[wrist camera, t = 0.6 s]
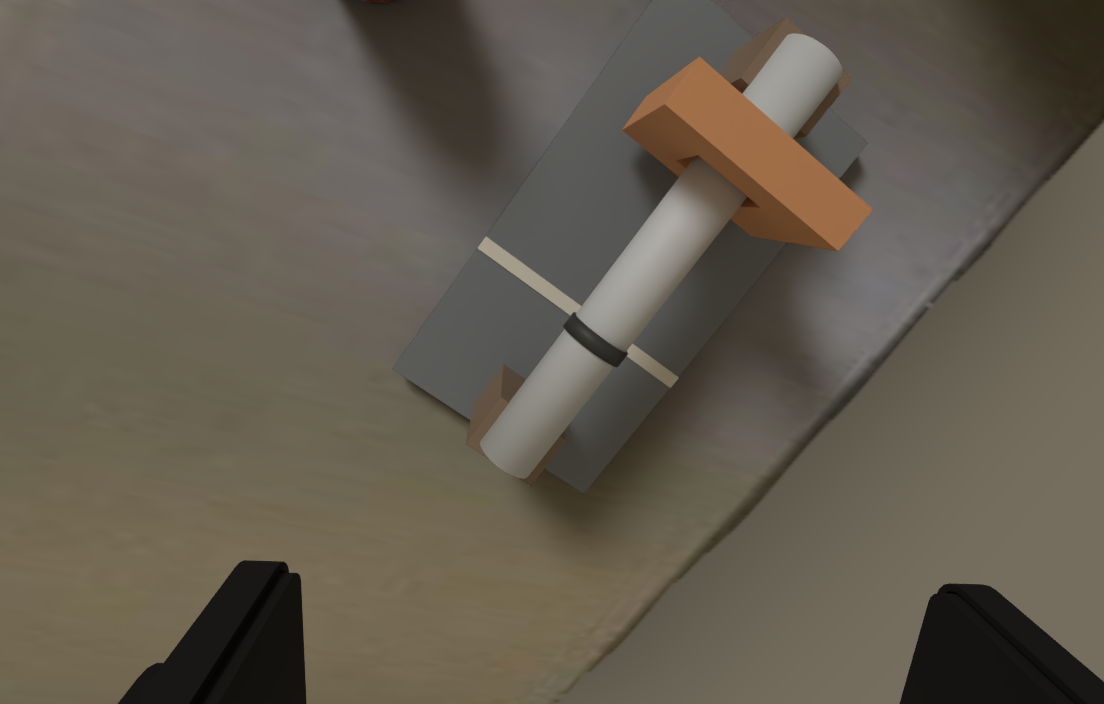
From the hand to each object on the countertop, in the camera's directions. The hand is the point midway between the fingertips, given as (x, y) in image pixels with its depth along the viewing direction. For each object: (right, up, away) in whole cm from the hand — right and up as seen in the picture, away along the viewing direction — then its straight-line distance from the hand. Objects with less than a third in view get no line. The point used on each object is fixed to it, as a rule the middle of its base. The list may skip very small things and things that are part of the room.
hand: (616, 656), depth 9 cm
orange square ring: (+7, +14, +22) cm, 27 cm away
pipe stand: (+3, +10, +26) cm, 28 cm away
